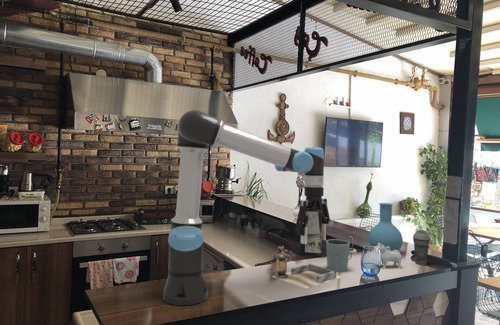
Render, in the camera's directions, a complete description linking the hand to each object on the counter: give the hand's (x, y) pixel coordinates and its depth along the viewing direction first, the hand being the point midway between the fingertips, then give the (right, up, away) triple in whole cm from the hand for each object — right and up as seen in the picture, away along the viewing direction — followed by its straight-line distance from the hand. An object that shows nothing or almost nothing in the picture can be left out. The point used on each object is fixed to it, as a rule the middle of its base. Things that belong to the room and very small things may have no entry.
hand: (313, 241), depth 155 cm
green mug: (+13, -15, +14) cm, 24 cm away
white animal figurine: (+36, -15, +18) cm, 43 cm away
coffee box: (0, -4, 0) cm, 4 cm away
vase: (+44, -15, +45) cm, 65 cm away
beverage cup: (+53, -15, +24) cm, 60 cm away
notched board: (-2, -15, 0) cm, 15 cm away
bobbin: (-13, -14, -1) cm, 19 cm away
